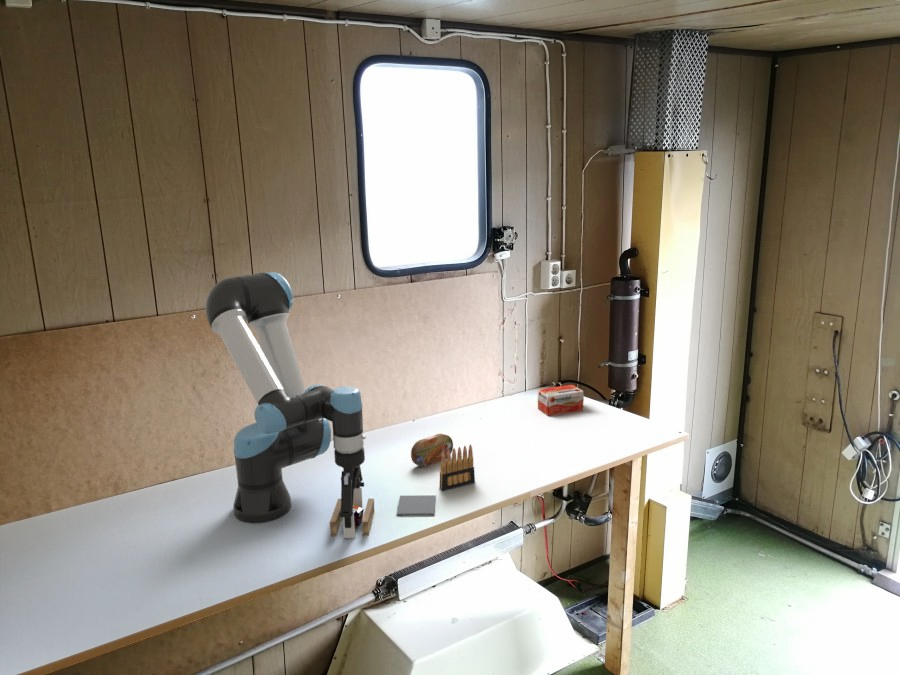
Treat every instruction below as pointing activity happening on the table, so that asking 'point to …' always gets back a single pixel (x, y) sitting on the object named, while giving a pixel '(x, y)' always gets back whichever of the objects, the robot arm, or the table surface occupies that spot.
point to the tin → (431, 450)
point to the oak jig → (366, 520)
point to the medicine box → (560, 400)
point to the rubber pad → (416, 505)
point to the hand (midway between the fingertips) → (353, 523)
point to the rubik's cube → (357, 515)
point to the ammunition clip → (456, 469)
